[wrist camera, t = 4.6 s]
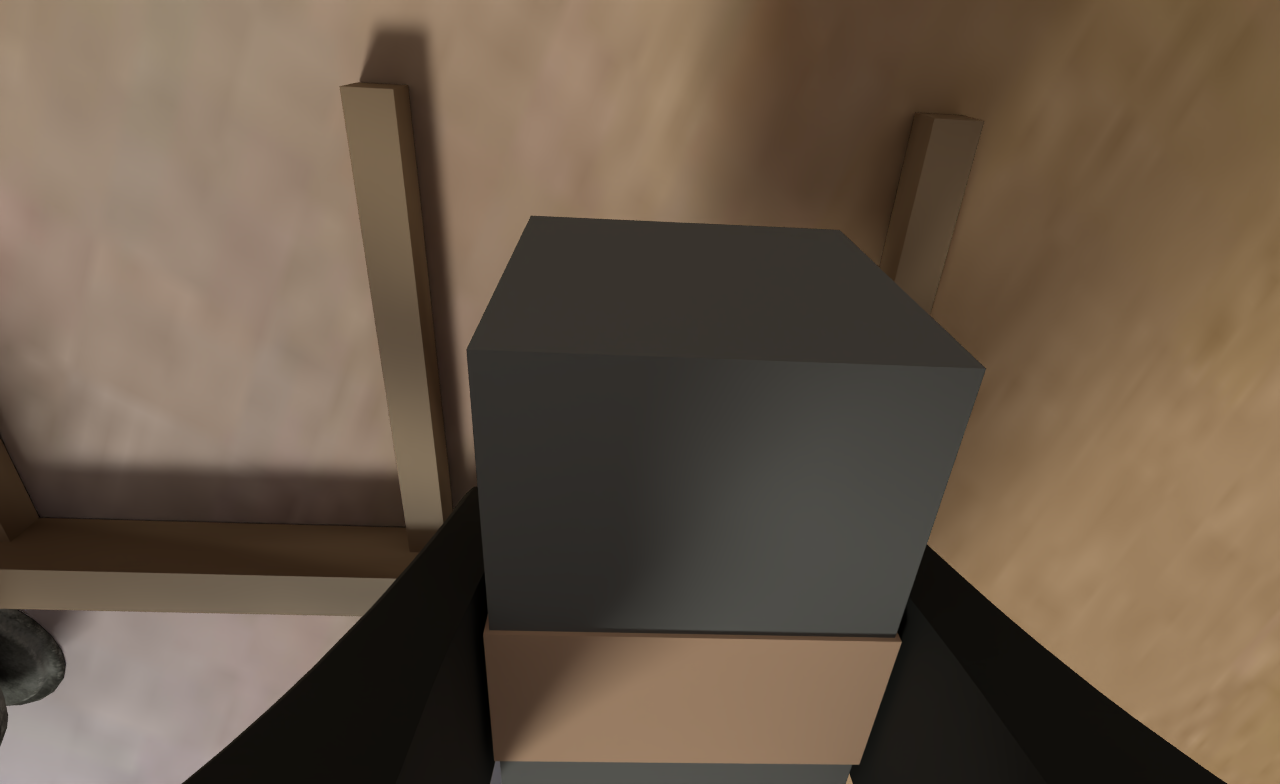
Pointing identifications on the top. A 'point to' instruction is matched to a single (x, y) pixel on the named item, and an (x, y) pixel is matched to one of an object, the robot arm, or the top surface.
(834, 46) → the top surface
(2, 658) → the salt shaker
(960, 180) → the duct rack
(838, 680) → the grey and tan block
